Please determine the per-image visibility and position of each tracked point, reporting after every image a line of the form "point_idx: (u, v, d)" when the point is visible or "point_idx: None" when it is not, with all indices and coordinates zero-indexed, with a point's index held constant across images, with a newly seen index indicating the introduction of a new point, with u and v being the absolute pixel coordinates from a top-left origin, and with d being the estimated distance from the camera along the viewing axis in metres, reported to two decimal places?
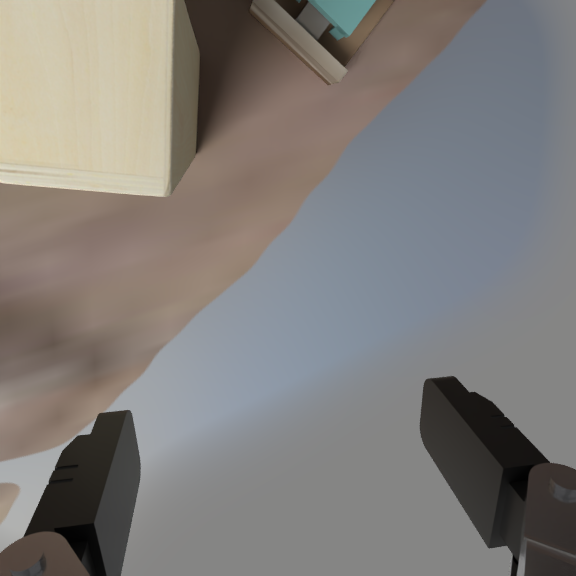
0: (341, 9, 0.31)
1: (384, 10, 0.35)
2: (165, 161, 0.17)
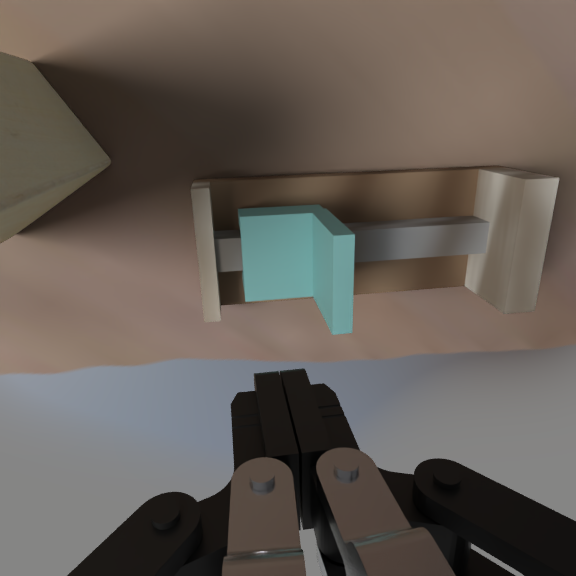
0: (258, 276, 0.26)
1: None
2: None
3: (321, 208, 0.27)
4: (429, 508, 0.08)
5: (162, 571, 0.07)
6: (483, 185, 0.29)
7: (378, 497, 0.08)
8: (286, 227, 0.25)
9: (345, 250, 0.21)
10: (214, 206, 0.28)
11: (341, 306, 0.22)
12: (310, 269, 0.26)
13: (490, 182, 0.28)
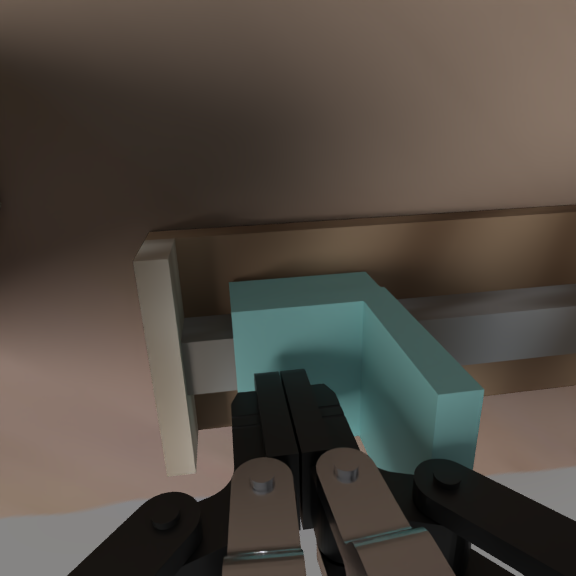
0: None
1: None
2: None
3: (373, 283, 0.16)
4: (429, 508, 0.08)
5: (162, 571, 0.07)
6: None
7: (378, 497, 0.08)
8: (316, 326, 0.14)
9: (461, 421, 0.10)
10: (183, 278, 0.16)
11: None
12: (356, 394, 0.15)
13: None
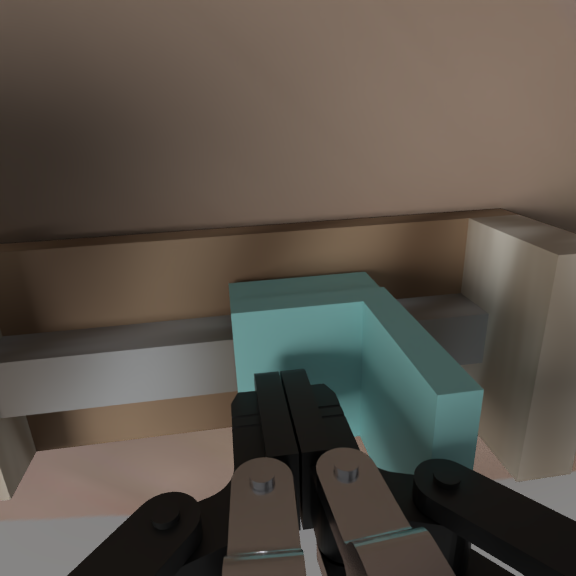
0: None
1: (178, 430, 0.18)
2: None
3: (372, 283, 0.16)
4: (429, 508, 0.08)
5: (162, 571, 0.07)
6: (476, 247, 0.17)
7: (378, 497, 0.08)
8: (316, 327, 0.14)
9: (460, 421, 0.10)
10: None
11: None
12: (356, 394, 0.15)
13: (489, 245, 0.16)
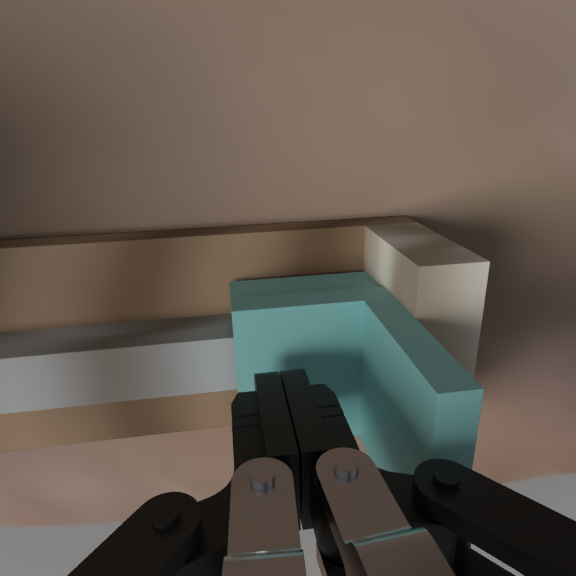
0: None
1: (73, 440, 0.18)
2: None
3: (373, 283, 0.16)
4: (429, 508, 0.08)
5: (162, 570, 0.07)
6: (370, 256, 0.16)
7: (378, 497, 0.08)
8: (316, 326, 0.14)
9: (460, 420, 0.10)
10: None
11: None
12: (356, 393, 0.15)
13: (377, 254, 0.15)
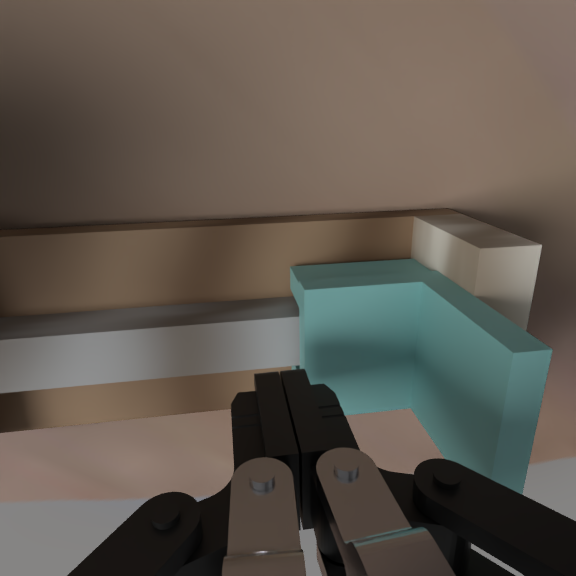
0: (327, 381, 0.16)
1: (136, 416, 0.19)
2: None
3: (424, 268, 0.17)
4: (429, 508, 0.08)
5: (162, 570, 0.07)
6: (420, 244, 0.18)
7: (378, 497, 0.08)
8: (378, 304, 0.15)
9: (530, 378, 0.11)
10: None
11: (507, 471, 0.12)
12: (410, 368, 0.16)
13: (429, 241, 0.17)
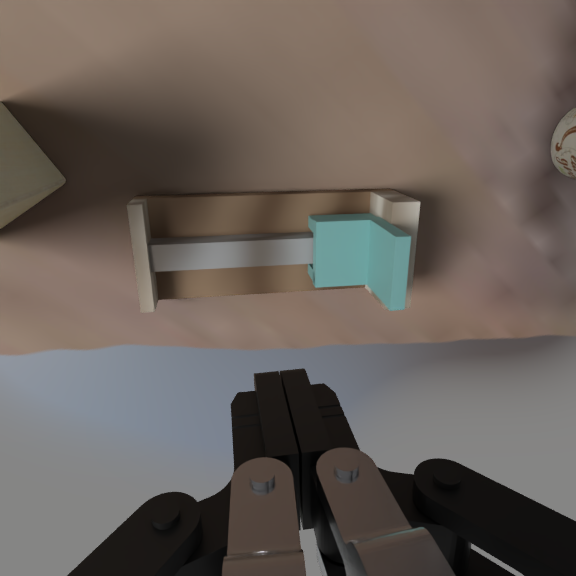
0: (326, 268, 0.34)
1: (227, 293, 0.37)
2: None
3: (374, 216, 0.35)
4: (429, 508, 0.08)
5: (162, 570, 0.07)
6: (373, 205, 0.35)
7: (378, 497, 0.08)
8: (350, 230, 0.33)
9: (403, 247, 0.29)
10: (150, 218, 0.34)
11: (398, 289, 0.30)
12: (366, 263, 0.34)
13: (376, 203, 0.35)
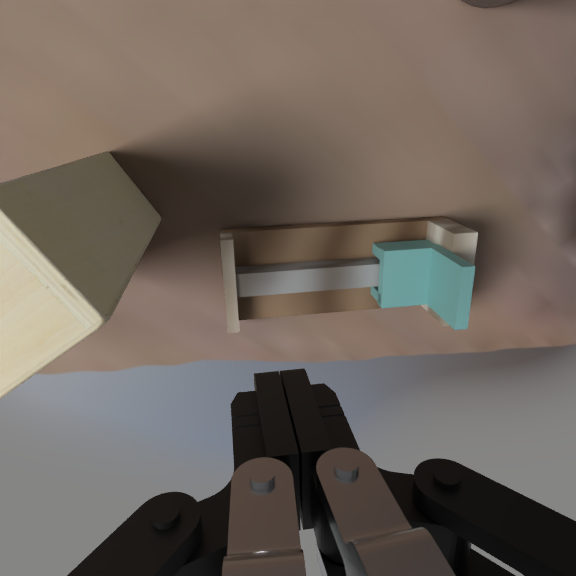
0: (391, 291, 0.38)
1: (298, 313, 0.41)
2: None
3: (432, 243, 0.39)
4: (429, 508, 0.08)
5: (162, 570, 0.07)
6: (430, 232, 0.40)
7: (378, 497, 0.08)
8: (413, 257, 0.37)
9: (468, 276, 0.33)
10: (234, 249, 0.38)
11: (462, 311, 0.34)
12: (426, 286, 0.38)
13: (434, 231, 0.39)
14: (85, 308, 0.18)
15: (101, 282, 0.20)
